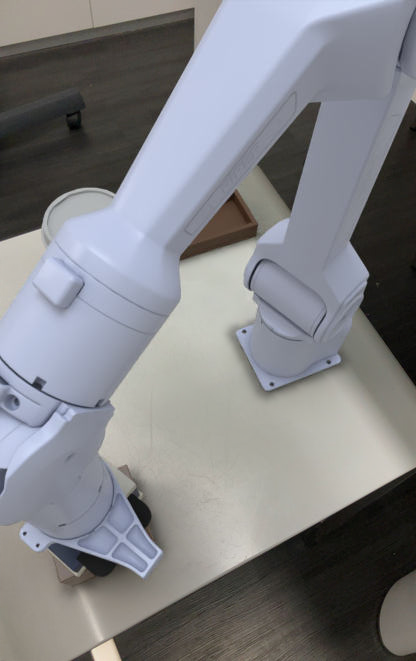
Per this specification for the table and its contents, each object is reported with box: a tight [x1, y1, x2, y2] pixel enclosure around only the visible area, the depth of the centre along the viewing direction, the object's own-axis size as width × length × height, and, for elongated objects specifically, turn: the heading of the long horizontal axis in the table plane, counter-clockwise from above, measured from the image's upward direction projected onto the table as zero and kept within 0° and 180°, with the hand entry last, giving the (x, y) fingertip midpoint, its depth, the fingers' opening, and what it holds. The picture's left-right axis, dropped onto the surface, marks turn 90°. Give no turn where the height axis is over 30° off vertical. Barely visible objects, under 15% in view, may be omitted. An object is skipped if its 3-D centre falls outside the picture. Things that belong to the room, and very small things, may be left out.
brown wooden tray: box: [179, 188, 259, 262], centre depth 65 cm, size 12×7×2 cm, turn 113°
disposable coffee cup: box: [40, 187, 116, 250], centre depth 56 cm, size 10×10×12 cm
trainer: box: [46, 454, 144, 577], centre depth 41 cm, size 8×4×5 cm, turn 143°
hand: (93, 518), depth 43 cm, fingers open, 5 cm apart
